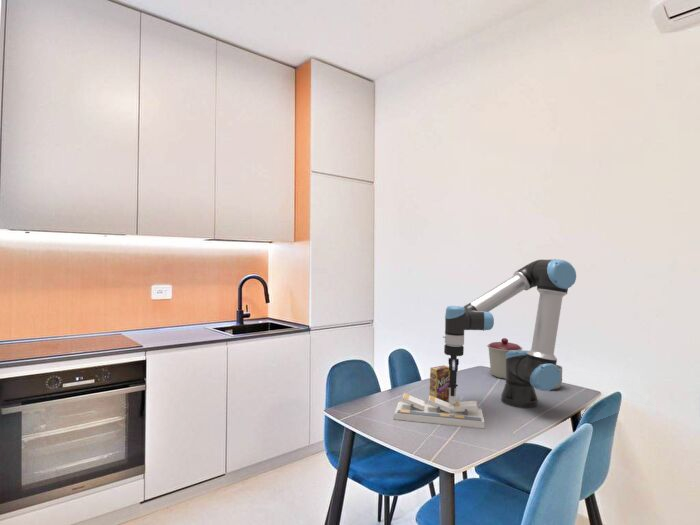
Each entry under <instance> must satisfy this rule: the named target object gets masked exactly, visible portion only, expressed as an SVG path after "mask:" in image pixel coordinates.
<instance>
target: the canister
mask: <svg viewBox="0 0 700 525" xmlns="http://www.w3.org/2000/svg"><path fill="white" fill-rule="evenodd" d="M486 346H487V348H488V356H489V365H490V372H491V374H492V375H493V376H494V377H496V378H499V379H503V380H504V379H505V380H506V353H507V352H508V351H513V350H523V347H522V346H520V345H519V344H517V343H513V342H509V339H508V338H505V337H504V338H502V339H501V340H500V341H495V342H490V343H489V344H487V345H486Z"/></svg>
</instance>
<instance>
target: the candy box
mask: <svg viewBox="0 0 700 525" xmlns="http://www.w3.org/2000/svg"><path fill="white" fill-rule="evenodd" d="M429 373H430V374H429V393H428V394H429V396H430V395H431V396H433V397H435V398H438V399H440V400H443V401H445V402H447V401H448V402H449V388H448V386H449V380H450V371H449V365H439V366H435V367H430V372H429ZM429 396H428V397H429Z"/></svg>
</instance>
